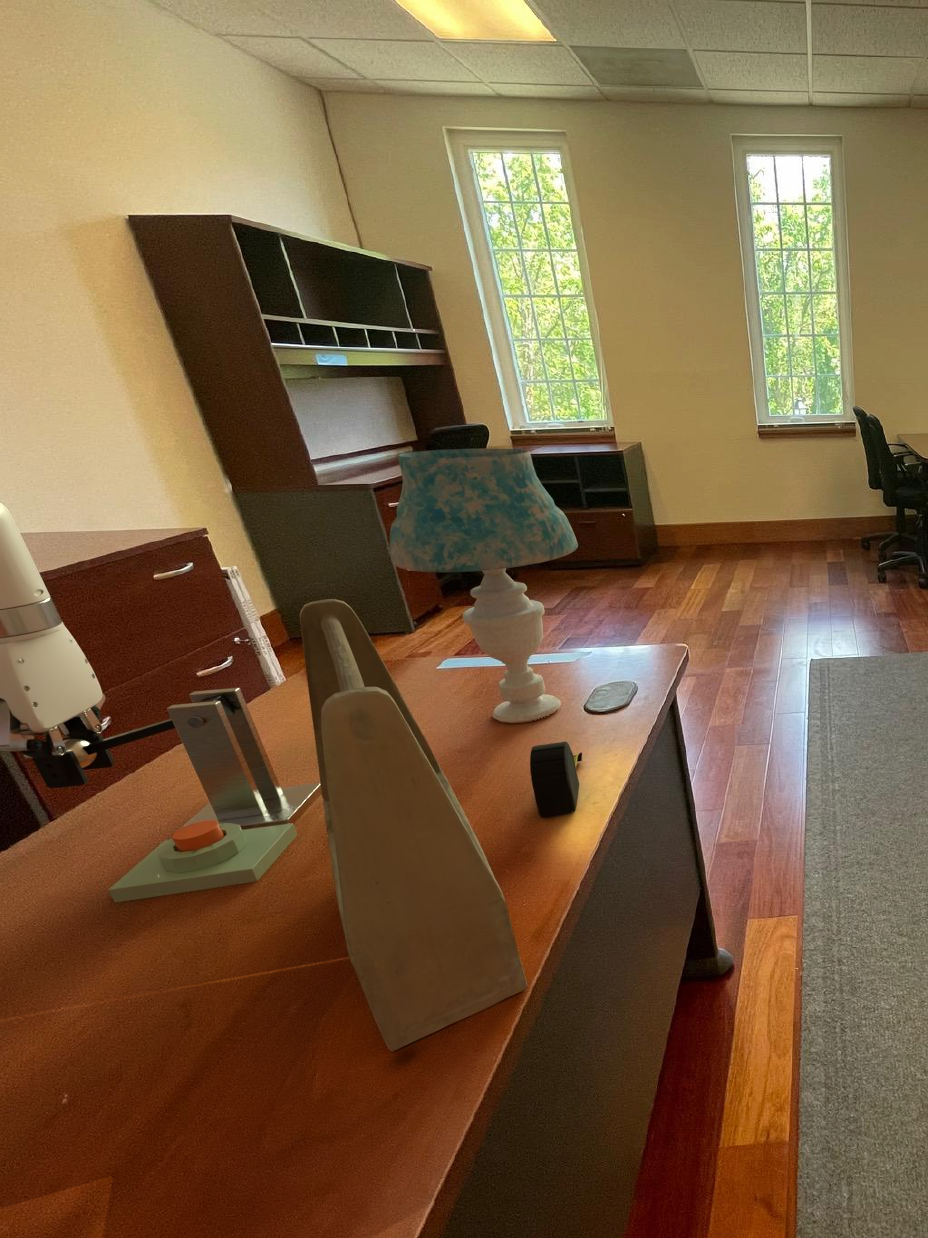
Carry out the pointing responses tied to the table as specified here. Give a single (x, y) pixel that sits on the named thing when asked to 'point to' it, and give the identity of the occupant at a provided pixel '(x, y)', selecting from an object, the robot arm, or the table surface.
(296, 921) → the table surface
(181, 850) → the button
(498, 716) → the table lamp
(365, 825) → the caddy
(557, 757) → the tape measure
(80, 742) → the lever
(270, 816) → the bracket
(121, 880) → the button box
